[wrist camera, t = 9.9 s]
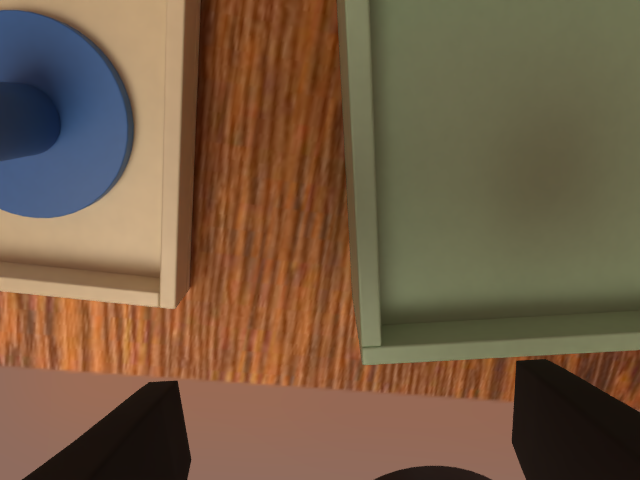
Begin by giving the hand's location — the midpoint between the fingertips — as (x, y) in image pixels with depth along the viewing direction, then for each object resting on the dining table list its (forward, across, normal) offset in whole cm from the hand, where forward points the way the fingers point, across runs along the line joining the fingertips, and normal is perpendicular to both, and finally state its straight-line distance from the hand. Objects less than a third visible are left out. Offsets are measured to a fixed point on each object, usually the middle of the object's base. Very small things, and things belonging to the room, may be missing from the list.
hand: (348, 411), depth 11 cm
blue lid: (+9, +10, -6) cm, 15 cm away
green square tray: (+10, -6, -4) cm, 12 cm away
